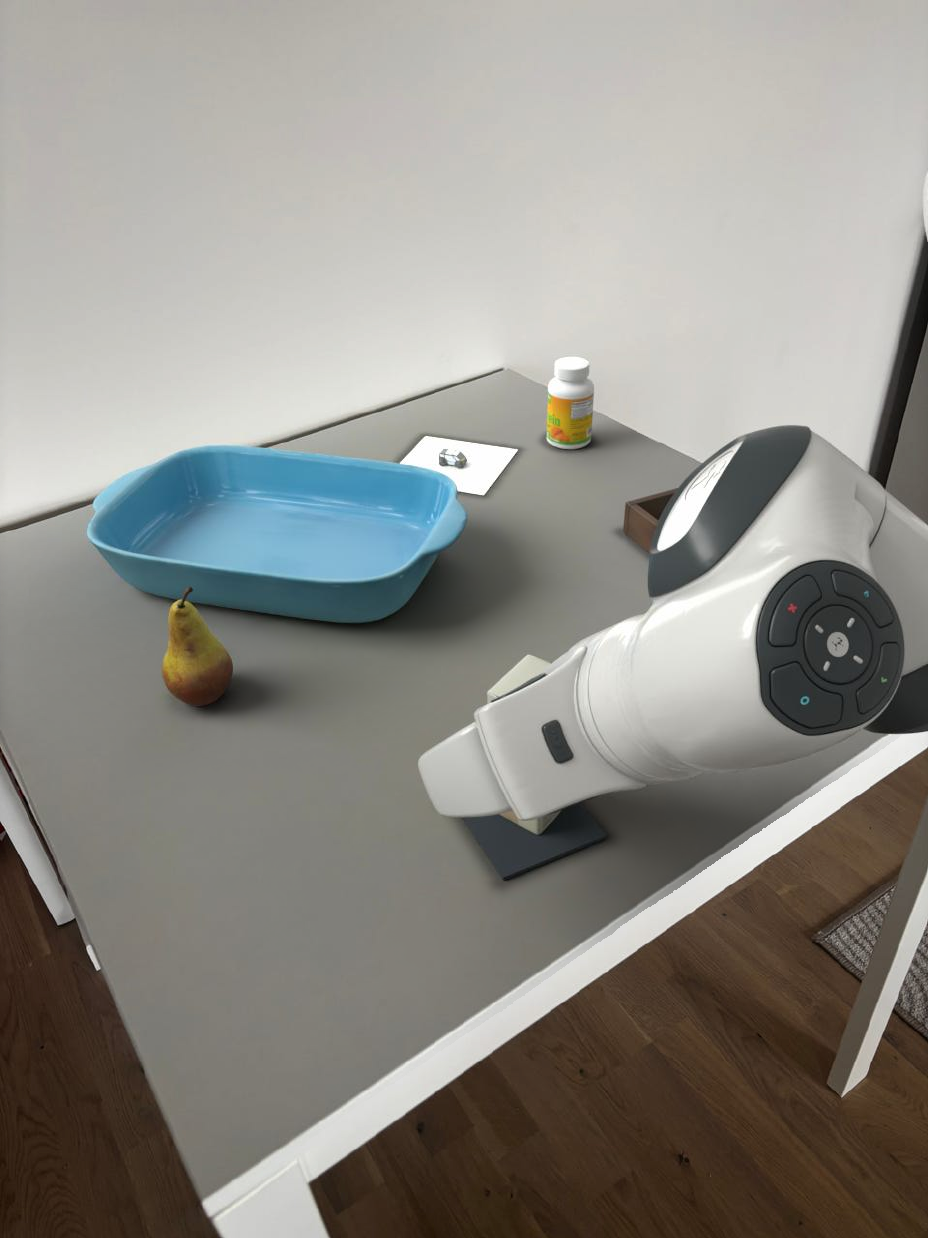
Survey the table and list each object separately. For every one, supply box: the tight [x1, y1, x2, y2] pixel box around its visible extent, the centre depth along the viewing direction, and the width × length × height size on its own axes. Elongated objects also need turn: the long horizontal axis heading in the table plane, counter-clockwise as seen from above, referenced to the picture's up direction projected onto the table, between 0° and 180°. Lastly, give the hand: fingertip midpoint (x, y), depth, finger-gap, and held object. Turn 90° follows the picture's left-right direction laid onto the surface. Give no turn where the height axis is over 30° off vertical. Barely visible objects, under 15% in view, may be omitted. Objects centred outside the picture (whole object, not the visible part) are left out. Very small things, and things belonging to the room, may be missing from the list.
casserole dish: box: [86, 444, 468, 624], centre depth 93 cm, size 37×22×7 cm, turn 74°
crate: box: [622, 487, 679, 554], centre depth 95 cm, size 14×13×4 cm
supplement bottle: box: [546, 356, 595, 450], centre depth 114 cm, size 5×5×10 cm
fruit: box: [161, 586, 234, 707], centre depth 76 cm, size 6×6×12 cm
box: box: [486, 654, 560, 835], centre depth 65 cm, size 5×4×11 cm
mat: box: [461, 802, 608, 881], centre depth 68 cm, size 8×8×1 cm
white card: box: [399, 435, 519, 496], centre depth 112 cm, size 12×12×2 cm
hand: (528, 735), depth 66 cm, fingers closed on box, 6 cm apart
